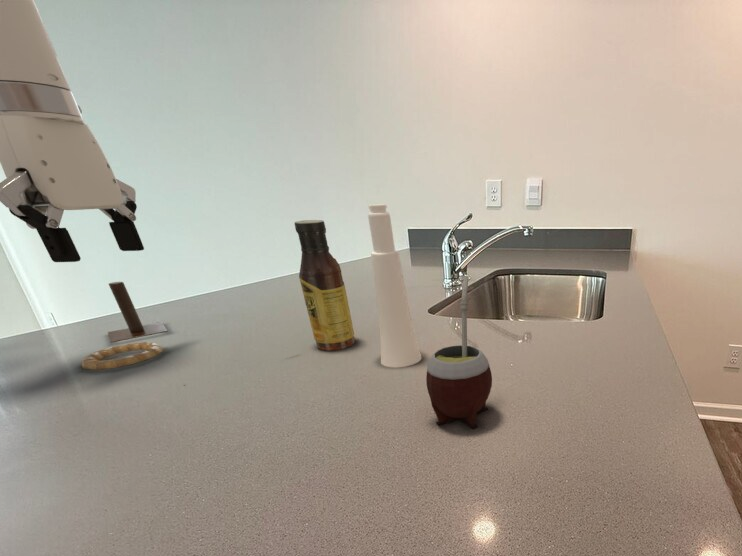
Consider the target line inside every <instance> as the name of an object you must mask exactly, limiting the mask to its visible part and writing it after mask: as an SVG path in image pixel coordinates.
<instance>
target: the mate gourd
mask: <svg viewBox="0 0 742 556" xmlns="http://www.w3.org/2000/svg"><path fill="white" fill-rule="evenodd" d="M469 277H470V276H469V275H464V276H463V281H462V288H461V300H460V302H459V303H460V306H459V308H460V310H461V345H451V346H445V347H442V348H439V349H438V350H436V351H435V352H434V353H433V354H432V355H431V356H430V358H429V360H428V361H427V365H426V375H425V376H426V377H425V380H426V381H425V383H426V388H427V389H426V390H427V393H428V395H429V398H430V403H431V407H432V409H433V412H434V414H435V417H436V418H437V421H436V422H435V423H436V425H437V426H439V427H440V426H444V425H447V424H450V423H453V422H456V421H462V422H463V423H465V425H466V426H467V427H469V429H471V430H475V429H478V428H479V425H478V424H477V423H476V418H477V414H480V413H484V412H488V410H489V408H488V407H487V406H486V404H487V400H488V398H489V396H490V393H491V390H492V387H493V386H492V385H493V376H492V369H491V367H490V361H489V359H488V358H487V356H486V355H485V353H483V351H482V350H480V348H477V347H476V346H471V345H468V309H469V301H468V288H469V286H468V285H469Z"/></svg>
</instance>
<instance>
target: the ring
mask: <svg viewBox="0 0 742 556" xmlns="http://www.w3.org/2000/svg"><path fill="white" fill-rule="evenodd" d="M131 351H132V352H133V351H142V352H139V353H136V354H133V355H128V356H124V357H119V358H115V359H114V358H113V359H106V360H105V358H108V357H111V356H114V355H117V354H121V353H125V352H131ZM163 351H164V349H163V348H162V346H161V345H160V344H159V343H156V342H147V341H142V342H131V343H124V344H119V345H115V346H110V347H107V348H104V349H100V350H98V351H94V352H92V353H90V354H88V355H86V356H85V357H83V359H81V367H82V369H85V370H94V371H97V370H106V369H107V370H108V369H115V368H119V367H124V366H125V367H126V366H128V365H129V366H130V365H133V364H138V363H141V362H144V361H147V360H149V359H152V358H154V357H157V356H158V355H160V354H161V353H162V352H163Z"/></svg>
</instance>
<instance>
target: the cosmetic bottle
mask: <svg viewBox="0 0 742 556" xmlns="http://www.w3.org/2000/svg"><path fill="white" fill-rule="evenodd" d="M387 208H388V207H387V204H385V203H377V204H375V203H374V204H369V205H368V209H369V212H368V214H367V218H368V224H369V230H370V237H371V242H372V248H373V251H372V252H371V253H370V257H371V265H372V275H373V283H374V291H375V299H376V306H377V316H378V326H379V334H380V335H379V336H380V337H379V338H380V363H381V365H382V366H384V367H386V368H404V367H409V366H413V365H415V364H418V363H419V362H420V361H422V355H421V352H420V349H419V345H418V342H417V337H416V333H415V330H414V325H413V321H412V316H411V311H410V306H409V305H410V304H409V299H408V295H407V290H406V283H405V278H404V274H403V268H402V263H401V258H400V253H399V251H398V250H396V248H395V241H394V234H393V227H392V219H391V215H390V212H388V211H387Z"/></svg>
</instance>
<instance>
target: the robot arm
mask: <svg viewBox="0 0 742 556" xmlns="http://www.w3.org/2000/svg"><path fill="white" fill-rule="evenodd" d="M53 45H54V44H53V42H52V41H51V38H50V36H49V33H48V31H47V29H46V26H45V23H44V20H43V19H42V17H41V13H40V11H39V9H38V6H37V4H36V2H35V0H0V165H1V168H2V171H3V173H4V175H5V177H6V178H5V179H3V180H2V181H1V182H0V203H1V204H2V205H3V206H4V207H5V208H7V209H8V210H9V211H8V212H10V213H11V215H13V216H14V217H16V218H17V219H19V220H21V221H22V222H24V223H25V224H26V226H27V227H28V228H30V229H32V230H36V232H37V234H38V235H39V238H40V240H41V241H42V243H43V246H44V248H45V249H46V252H47V253H48V255H49V257H50V260H51V261H52V262H54V263H76V262H77V263H78V262H80V261H81V259H82V258H81V256H80V253H79V251H78V249H77V247H76V245H75V243H74V241H73V238H72V236H71V234H70V232H69V230H68V229H67V228H66V227H60V224H61V221H62V218H63V214H64V211H83V210H84V211H85V210H99V211H101V212H102V213H103V214H104V215H105V216H107V217H108V218H109V219H110V220H111V221H109V222H108V225H109V227H110V230H111V232H112V234H113V237H114V239H115V241H116V244H117V247H118V248H119V250H120V251H122V252H140V251H144V250H145V246H144V244H143V242H142V239H141V237H140V234H139V232H138V229H137V227H136V224H135V222H136V221H137V215H136V211H137V207H138V206H137V204H136V189H135V188H134V187H132V186H131V185H129V184H127V183H125V182H124V181H121V180H119V179H117V178H116V176H115V173H114V172H113V169H112V167H111V165H110V163H109V161H108V158H107V157H106V155H105V152H104V151H103V149H102V147H101V146H100V144H99V142H98V140H97V139H96V137H95V135H94V133H93V132H92V130H91V129H90V127H89V125H88V124H85V120H84V119H83V116H82V108H81V106H80V105H78V104H77V101H76V98H75V96H74V94H73V92H72V89H71V87H70V84H69V82H68V80H67V77H66V74H65V72H64V70H63V67H62V65H61V62H60V59H59V57H58V55H57V53H56V51H55V48H54V46H53Z"/></svg>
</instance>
